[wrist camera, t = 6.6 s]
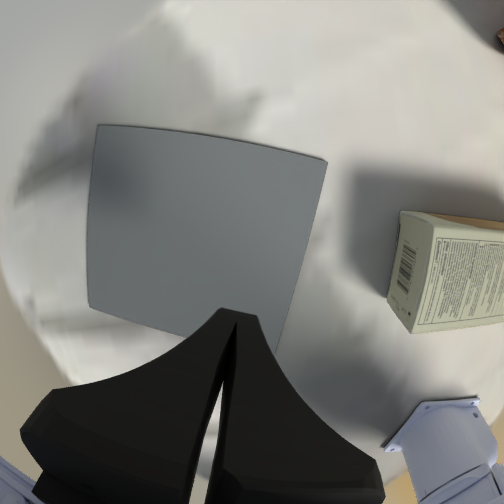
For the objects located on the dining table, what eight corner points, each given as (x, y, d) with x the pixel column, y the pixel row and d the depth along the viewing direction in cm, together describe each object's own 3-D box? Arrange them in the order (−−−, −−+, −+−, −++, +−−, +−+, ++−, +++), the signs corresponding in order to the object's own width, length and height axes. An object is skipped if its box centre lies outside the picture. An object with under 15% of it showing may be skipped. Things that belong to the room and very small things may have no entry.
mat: (327, 162, 15) (327, 161, 15) (273, 354, 19) (273, 356, 19) (100, 125, 15) (98, 125, 15) (91, 305, 19) (89, 307, 19)
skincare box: (382, 301, 17) (501, 298, 17) (407, 337, 13) (530, 321, 13) (399, 203, 16) (518, 223, 15) (435, 217, 11) (554, 237, 11)
